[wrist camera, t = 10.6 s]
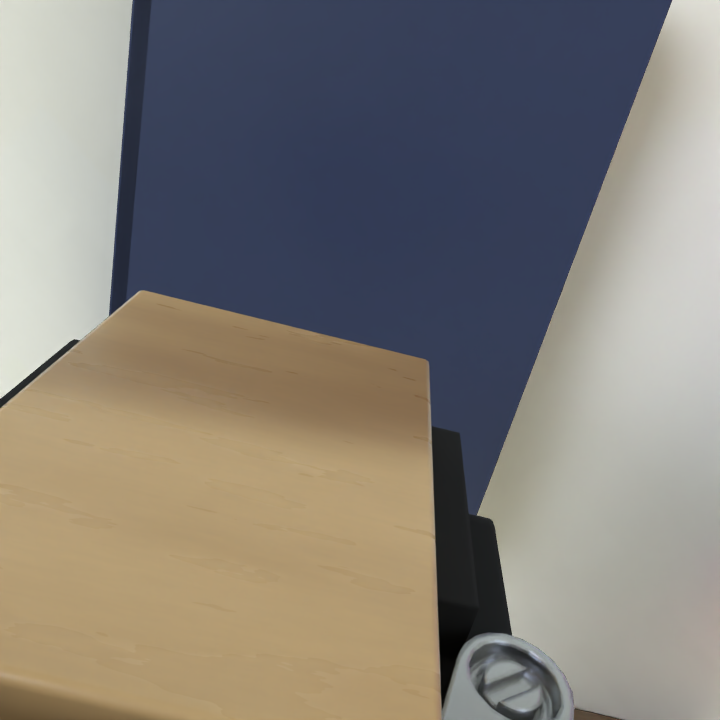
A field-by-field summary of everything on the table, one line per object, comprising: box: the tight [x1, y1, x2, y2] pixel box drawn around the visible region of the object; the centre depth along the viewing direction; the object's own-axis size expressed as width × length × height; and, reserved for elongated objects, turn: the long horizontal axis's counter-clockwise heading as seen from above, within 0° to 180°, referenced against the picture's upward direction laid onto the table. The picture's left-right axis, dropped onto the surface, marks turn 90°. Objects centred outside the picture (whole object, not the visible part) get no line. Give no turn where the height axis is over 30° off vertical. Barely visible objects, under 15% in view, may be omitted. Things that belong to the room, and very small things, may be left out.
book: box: [109, 0, 672, 516], centre depth 23 cm, size 20×14×3 cm
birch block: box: [0, 290, 442, 720], centre depth 9 cm, size 5×5×7 cm
